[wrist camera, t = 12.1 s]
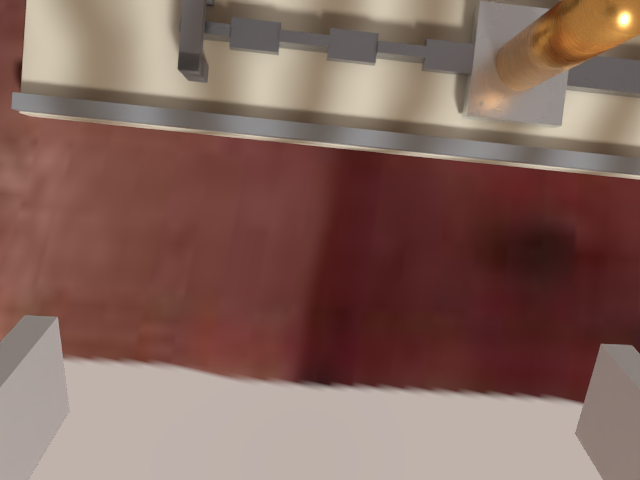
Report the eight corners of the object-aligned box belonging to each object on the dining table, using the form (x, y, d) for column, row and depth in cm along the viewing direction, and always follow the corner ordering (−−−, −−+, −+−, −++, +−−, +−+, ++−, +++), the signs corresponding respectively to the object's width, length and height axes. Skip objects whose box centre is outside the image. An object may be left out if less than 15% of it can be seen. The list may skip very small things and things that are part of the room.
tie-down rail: (30, 116, 38) (-11, 103, 33) (42, -72, 37) (3, -114, 32) (749, 190, 40) (813, 189, 35) (775, 14, 39) (844, -14, 34)
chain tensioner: (180, 88, 36) (111, 24, 23) (189, -26, 36) (124, -157, 23) (673, 141, 38) (874, 108, 24) (688, 31, 37) (901, -62, 24)
